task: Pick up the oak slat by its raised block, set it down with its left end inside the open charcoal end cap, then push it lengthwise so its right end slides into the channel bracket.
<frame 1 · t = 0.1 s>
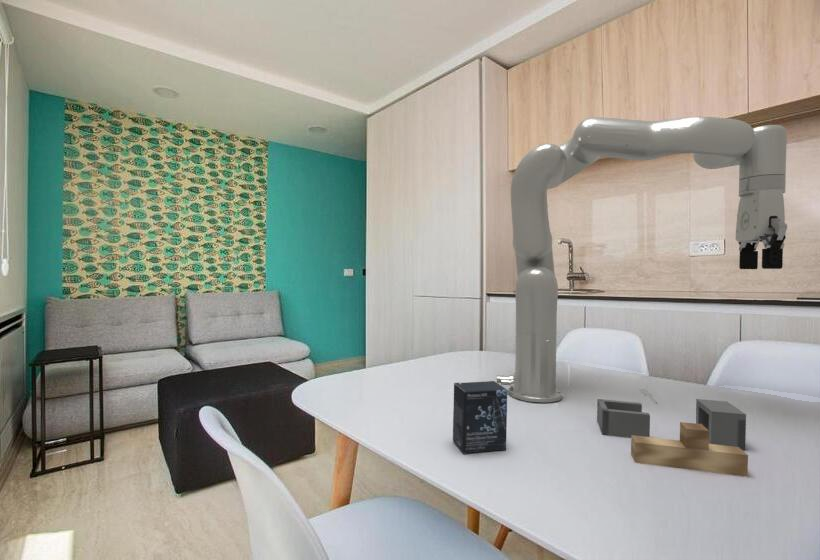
hand: (759, 268, 88), 31 cm above the table, tool pointing down, fingers open, 9 cm apart
box: (479, 447, 72), on the table
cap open: (621, 429, 80), on the table
slat: (685, 466, 66), on the table
butter knife: (657, 406, 96), on the table
channel bracket: (719, 440, 75), on the table
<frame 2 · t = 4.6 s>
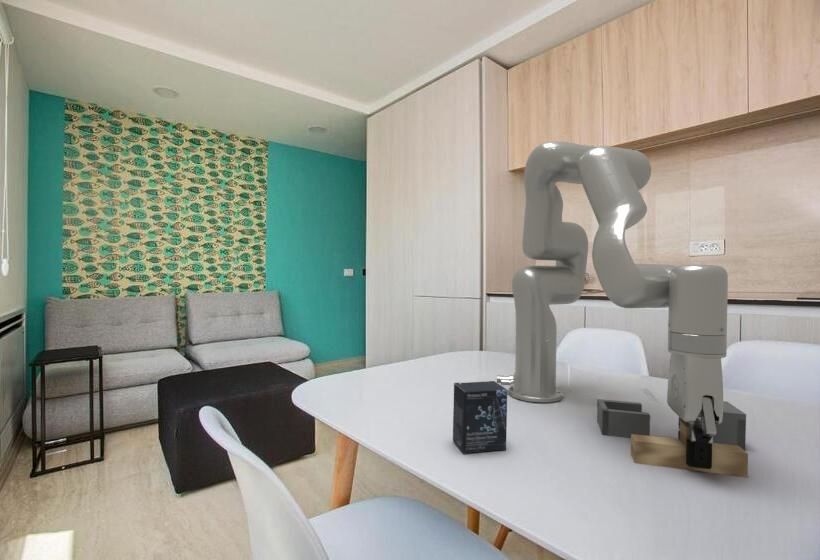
hand: (694, 460, 65), 1 cm above the table, tool pointing down, fingers closed on slat, 3 cm apart
slat: (685, 465, 65), on the table, touching gripper
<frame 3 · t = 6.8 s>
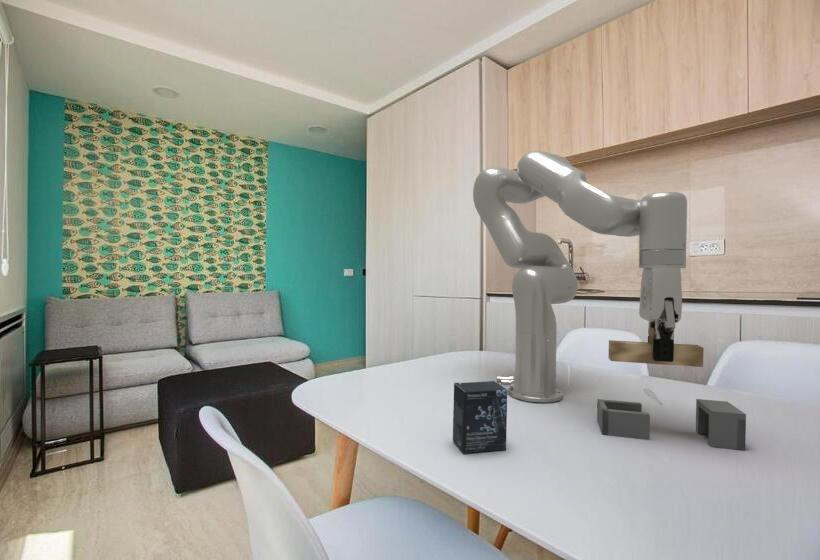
hand: (660, 358, 78), 14 cm above the table, tool pointing down, fingers closed on slat, 3 cm apart
slat: (653, 362, 78), point 13 cm above the table, touching gripper
when the fingers open (2 cm above the table, at t = 9.0 s): slat drops 2 cm, on the table.
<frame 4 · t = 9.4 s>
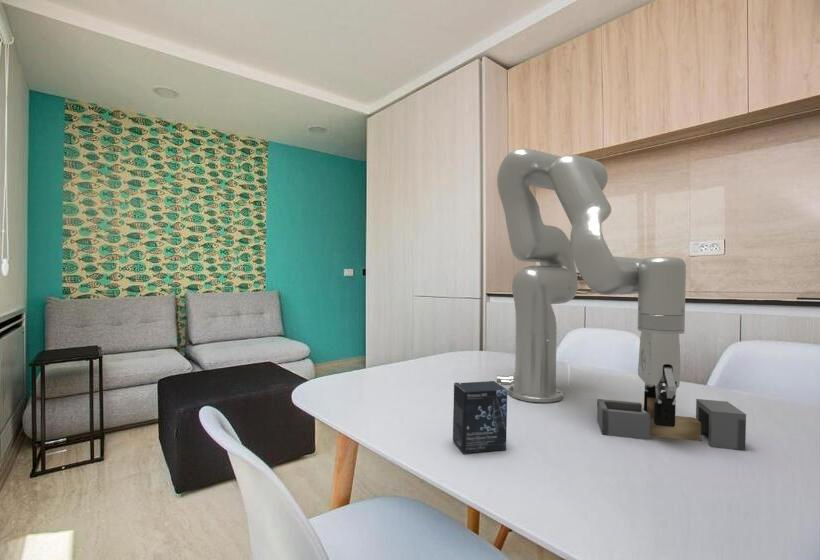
hand: (658, 417, 78), 3 cm above the table, tool pointing down, fingers open, 6 cm apart
slat: (651, 434, 79), on the table
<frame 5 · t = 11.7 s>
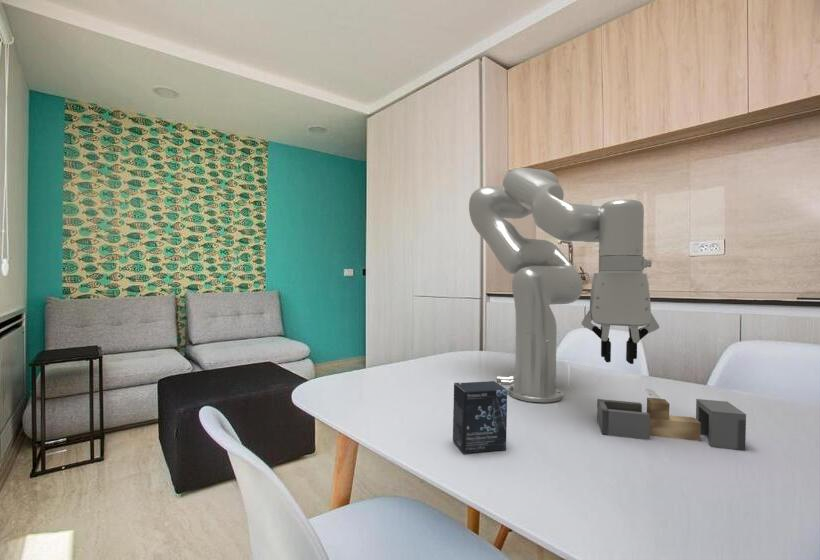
hand: (618, 360, 80), 13 cm above the table, tool pointing down, fingers open, 3 cm apart
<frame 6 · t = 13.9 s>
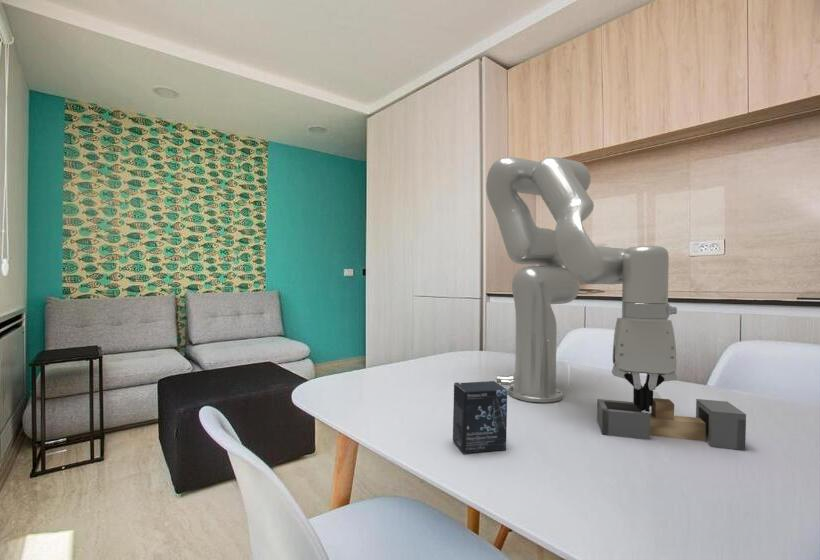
hand: (642, 409, 79), 4 cm above the table, tool pointing down, fingers closed
slat: (655, 434, 78), on the table, touching gripper
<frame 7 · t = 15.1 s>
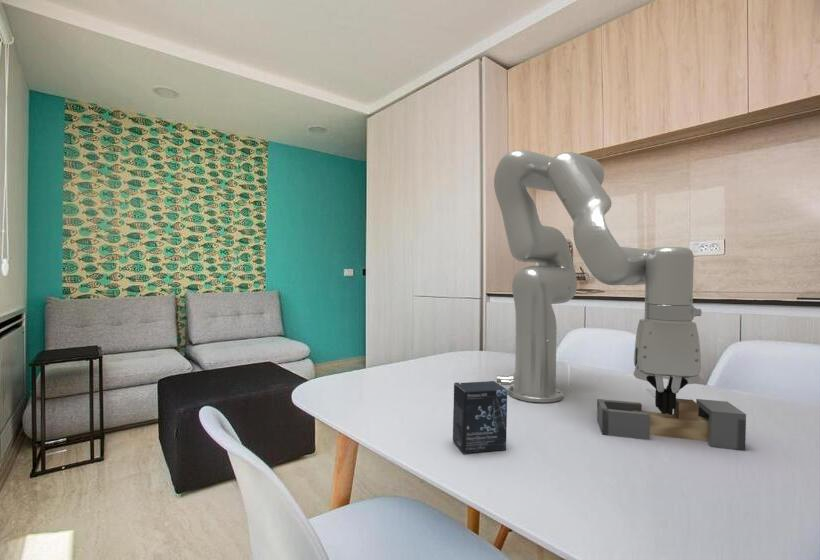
hand: (665, 411, 78), 4 cm above the table, tool pointing down, fingers closed
slat: (678, 435, 78), on the table, touching channel bracket, gripper
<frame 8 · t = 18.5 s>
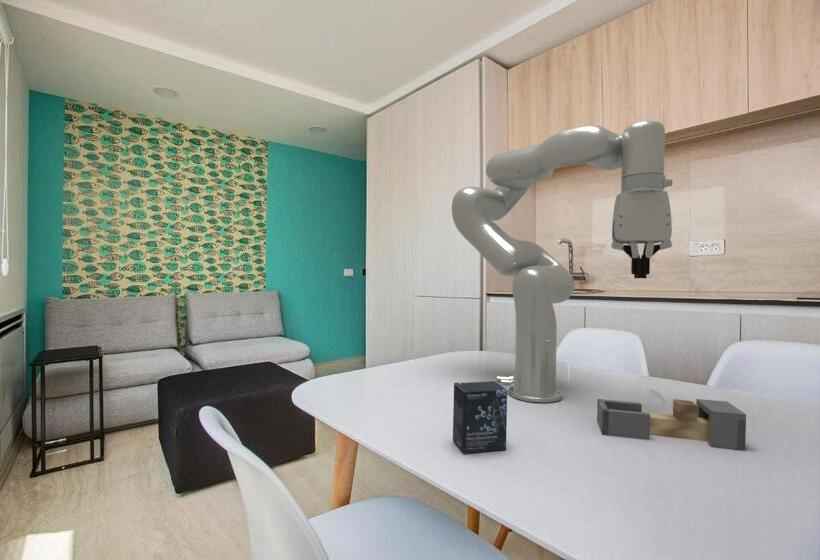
hand: (640, 278, 84), 29 cm above the table, tool pointing down, fingers closed
slat: (678, 436, 78), on the table
at the end: slat 0.7 cm from the target spot, on the table; slat tilted 0°; the gripper is holding nothing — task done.
